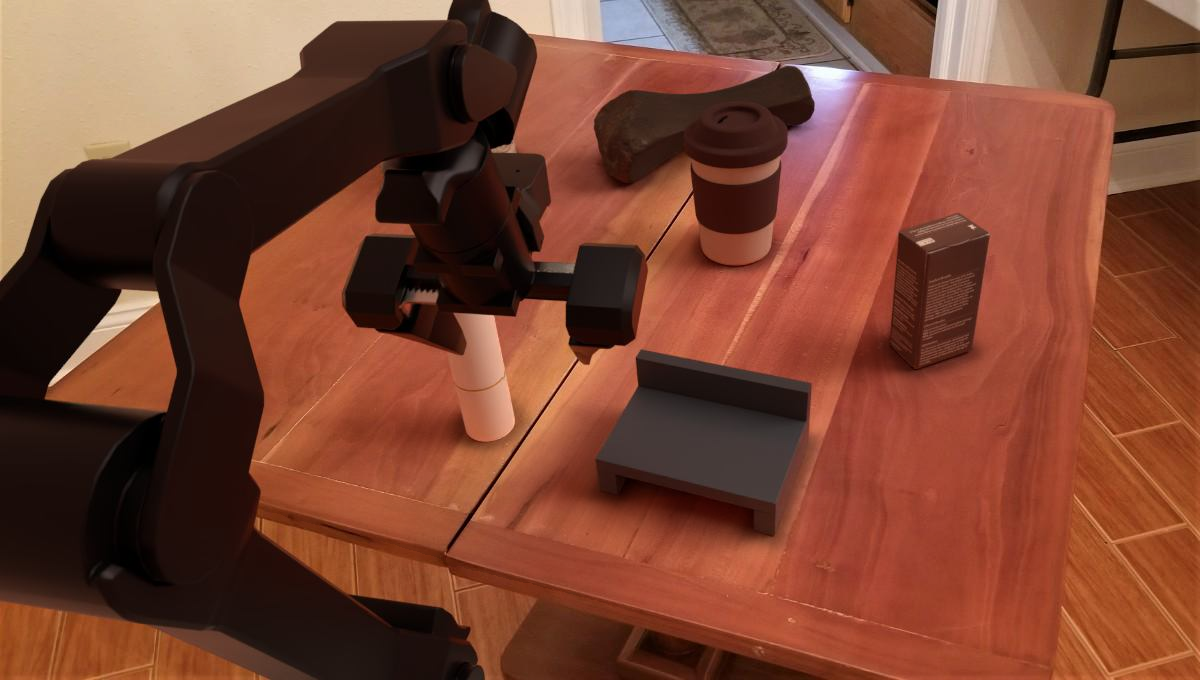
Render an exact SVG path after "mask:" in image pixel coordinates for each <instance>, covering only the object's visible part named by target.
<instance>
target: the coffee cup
mask: <svg viewBox="0 0 1200 680" xmlns="http://www.w3.org/2000/svg"><path fill="white" fill-rule="evenodd" d="M788 129H789V128H788V126H787V125H785V123H784V122H783V121H782V120H780V119H779V118H778V117H776V116H773V115H771V113H770V111H769V110H768V109H767V108H765V107H764V106H762V105H759V104H756V103H751V102H743V101H736V102H725V103H720V104H717V105H714V106H711V107H710V108H708V109H706V110H705V111H704V112H703V113H702V114H701V115H700V118H697V119H696V120H694V121H693V122H691V123H690V124H689V125H688V126H687V128H686V129H685V132H684V148H685V149H684V151H685V153H686V155H687V156H688V157H689V158H690V159H691V162H690V177H691V179H690V180H691V186H692V197H693V204H694V213H695V218H696V220H697V222H698V230H699V231H698V232H699V239H700V247H701V250H702V252H703V254H704V255H705V257H707V258H708V259H709V260H711V261H713V262H715V263H717V264H721V265H726V266H745V265H750V264H753V263H755V262H758V261H760V260H761V259H763V258H764V257H766V256H767V254H768V253H769V252H770V250H771V248H772V243H773V241H772V240H773V233H774V231H773V230H774V223H775V222H774V221H775V218H776V216H777V213H778V202H779V195H780V183H781V174H782V161H781V155H783V153H784V152H785V151H786V150H787V147H788V141H789V140H788V139H789V138H788V137H789V130H788Z"/></svg>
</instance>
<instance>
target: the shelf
mask: <svg viewBox="0 0 1200 680" xmlns="http://www.w3.org/2000/svg"><path fill="white" fill-rule="evenodd" d="M635 368H636V378H637V387H636V389H635V390H634V392H633V394H632V396H631V397H630V399H629V401H628V402H627V404H626V406H625V408H624V409H623V411H622V412H621V415H620V416H619V418H618V419H617V421H616V423H615V425H614V426H613V428H612V430H611V431H610V433H609V434H608V436H607V438H606V440H605V442H604V443H603V445H602V446H601V448H600V450H599V452H598V454H597V455H596V457H595V458H594V461H595V467H596V475H597V481H598V488H599V490H600V492H601V491H602V492H606V493H609V494H614V495H619V494H620V492H621V489H622V488H623V486H624V484H625V482H626V480H627V479H628V478H629V479H632V480H636V481H639V482H644V483H648V484H652V485H656V486H659V487H664V488H668V489H672V490H675V491H680V492H684V493H688V494H691V495H696V496H699V497H704V498H707V499H711V500H714V501H720V502H723V503H727V504H731V505H735V506H739V507H742V508H747V509H751V510H753V531H754V532H757V533H761V534H765V535H769V536H772V537H775V536H776V535H777V531H778V529H779V526H780V523H781V521H782V518H783V516H784V512H785V509H786V506H787V503H788V501H789V498H790V495H791V494H792V493H791V492H792V490H793V487H794V484H795V481H796V479H797V476H798V474H799V470H800V468H801V465H802V463H803V459H804V457H805V454H806V451H807V449H808V446H809V440H810V439H809V436H810V419H811V403H812V387H813V384H812V382H810V381H809V382H808V381H804V380H799V379H794V378H788V377H784V376H778V375H774V374H768V373H764V372H758V371H754V370H748V369H743V368H738V367H733V366H727V365H723V364H718V363H713V362H707V361H702V360H697V359H693V358H688V357H682V356H677V355H673V354H666V353H661V352H656V351H652V350H646V349H642V348H641V349H640V350H639V351H638V353H637V355H636V356H635Z"/></svg>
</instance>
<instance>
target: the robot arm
mask: <svg viewBox="0 0 1200 680" xmlns="http://www.w3.org/2000/svg"><path fill="white" fill-rule="evenodd" d="M299 51H300V52H299V55H298V56H299V62H300V64H299V65H300V69H299V70H298V71H297V72H295V73H294V74H293V75H292V76H291V77H289V78H287V79H284V80H281V81H280V82H278V83H275V84H273V85H272V86H269V87H266V88H264V89H262V90H259V91H258V92H255V93H253V94H251V95H249V96H247V97H244V98H242V99H240V100H237V101H236V102H233V103H231V104H228V105H227V106H225V107H222V108H220V109H218V110H215V111H213V112H210V113H209V114H207V115H204V116H202V117H200V118H197V119H195V120H193V121H190V122H188V123H186V124H184V125H181V126H180V127H178V128H174V129H173V130H171V131H169V132H165V133H164V134H161V135H159V136H157V137H155V138H153V139H151V140H148V141H146V142H144V143H142V144H139V145H138V146H135V147H133V148H130V149H128V150H126V151H124V152H121V153H118V154H117V155H115V156H113V157H108V158H107V157H106V158H91V159H88V160H84V161H81V162H79V163H78V164H77V165H76V166H74V167H72V168H65V169H64V170H62V171H61V172H60V173H59V174H57V175H56V176H54V177H53V178H52V179H51V180H50V181H49V183H48V184H47V187H46V189H44V192H43V194H42V195H41V198H40V200H39V203H38V206H37V210H36V212H35V216H34V218H33V222H32V225H31V229H30V231H29V234H28V237H27V241H26V244H25V247H24V251H23V253H22V254H21V256H20V257H19V258H18V259H17V260H16V262H15V263H13V265H12V267H11V268H10V269H9V270H8V271H7V272H6V273H5V274H4V275H3V277H2V278H1V279H0V602H3V603H7V604H8V603H9V604H14V605H15V604H16V605H22V606H29V607H34V608H40V609H45V610H46V609H47V610H52V611H58V612H63V613H70V614H77V615H83V616H89V617H95V618H102V619H107V620H108V619H109V620H114V621H120V622H126V623H133V624H139V625H146V626H148V627H149V628H153V629H155V630H157V631H160V632H161V633H164V634H165V635H169V636H170V637H173V638H175V639H178V640H180V641H181V642H185V643H186V644H188V645H191V646H193V647H196V648H197V649H199V650H202V651H204V652H207V653H209V654H211V655H213V656H216V657H218V658H220V659H222V660H224V661H227V662H229V663H231V664H233V665H235V666H238V667H241V668H243V669H245V670H247V671H249V672H252V673H254V674H257V675H259V676H261V677H263V678H264V679H265V678H266V679H268V680H486V675H485V672H484V668H483V667H482V665H480V664H478V663H479V658H478V653H477V651H476V649H475V648H474V646H473V645H472V643H471V642H470V641H469V640H468V638H469V636H470V633H471V630H472V629H471V626H469V625H461V624H458V622H457V620H456V619H455V617H454V615H453V614H452V613H451V612H449V611H448V610H446V609H445V608H443V607H442V606H434V605H429V604H420V603H413V602H407V601H399V600H392V599H386V598H379V597H372V596H364V595H357V594H352V593H347V592H346V591H344V590H343V589H341V588H340V587H339V586H337V585H336V584H334V583H333V582H331V581H330V580H329V579H327V578H326V577H324V576H323V575H321V574H320V573H319V572H317V571H316V570H314V569H313V568H312V567H311V566H309V565H308V564H307V563H305V562H303V561H302V560H300V558H298V557H296V556H295V555H294V554H292V553H291V552H290V551H288V550H286V549H285V548H284V547H282V546H281V545H280V544H279V543H277V542H276V541H274V540H273V539H271V538H270V537H269V536H267V535H266V534H264V533H263V532H262V531H260V530H259V528H257V527H256V525H255V524H256V519H257V514H258V509H259V504H260V500H261V494H262V490H261V488H260V486H259V484H258V482H257V481H256V479H255V478H254V476H253V475H252V474H251V473H250V469H251V465H252V460H253V456H254V451H255V448H256V444H257V443H256V442H257V438H258V434H259V430H260V426H261V421H262V418H263V413H264V408H265V391H264V388H263V384H262V379H261V377H260V372H259V369H258V367H257V363H256V359H255V356H254V352H253V348H252V344H251V342H250V338H249V334H248V331H247V327H246V324H245V320H244V316H243V314H242V308H241V305H240V300H241V297H242V292H243V288H244V284H245V281H246V277H247V272H248V268H249V264H250V261H251V256H252V255H253V254H254V253H256V252H257V251H258V250H260V249H261V248H263V247H264V246H265V245H267V244H268V243H270V242H271V241H272V240H275V238H277V237H278V236H280V235H281V234H283V233H284V232H285V231H287V230H288V229H290V228H291V227H293V226H294V225H296V224H297V223H298V222H300V221H301V220H302V219H304V218H306V217H307V216H308V215H310V214H311V213H312V212H314V211H315V210H317V209H318V208H319V207H321V206H323V204H325V203H326V202H328V201H329V200H330V199H332V198H334V197H335V196H336V195H338V194H339V193H340V192H342V191H343V190H345V189H346V188H347V187H349V186H351V184H353V183H355V182H356V181H357V180H359V179H360V178H361V177H363V176H364V175H366V174H368V172H370V171H372V170H373V169H374V168H376V167H378V165H380V164H381V174H382V177H383V180H382V182H381V185H380V188H379V191H378V193H377V195H376V198H375V203H374V218H375V221H376V222H378V223H379V224H393V225H394V224H396V225H409V227H410V229H411V231H412V233H413V234H397V233H395V234H394V233H372V234H368V235H365V237H364V238H363V239H362V240H361V242H360V243H359V246H358V248H357V251H356V254H355V257H354V259H353V261H352V264H351V267H350V270H349V273H348V275H347V277H346V280H345V282H344V285H343V288H342V291H341V306H342V308H343V309H344V311H345V313H346V314H347V315H348V317H349V318H350V320H351V321H352V322H353V324H354V325H355V326H356V328H361V329H373V330H374V331H376V332H377V333H379V334H385V335H386V334H387V335H391V336H395V337H398V338H401V339H404V340H409V341H412V342H415V343H418V344H422V345H425V346H429V347H431V348H435V349H439V350H441V351H444V352H446V351H447V352H450V353H453V354H456V355H464V352H465V349H466V345H467V342H466V339H465V336H464V333H463V331H462V328H461V326H460V324H459V323H458V321H457V319H456V317H455V315H454V313H464V314H479V315H494V317H511V318H512V317H513V318H514V317H515V318H516V317H517V314H518V311H519V307H520V303H521V302H523V301H524V300H533V301H534V300H536V301H551V302H552V301H554V302H565V329H566V332H567V335H568V336H569V338H568V343H567V344H568V346H569V348H570V349H571V351H572V353H573V354H574V355H575V357H576V359H577V361H578V362H580V363H581V364H582V365H585V366H589V365H590V364H591V360H592V357H593V355H594V354H596V353H597V352H599V350H611V349H612V348H614V347H615V346H618V347H626V346H628V345H629V344H630V343H633V341H635V340H636V339H637V335H638V334H637V333H638V328H639V323H640V317H641V313H642V306H643V300H644V296H645V290H646V286H647V279H648V274H649V266H648V262H647V257H646V254H645V253H644V252H643V251H642V249H641V248H640V247H639V246H638V244H621V243H603V242H601V243H599V242H583V243H581V244H579V246H578V250H577V254H576V258H575V262H557V261H538V260H534V259H533V253H541V251H542V248H543V244H544V240H545V233H544V232H543V227H542V226H541V222H540V221H541V219H542V218H543V215H544V214H545V212H546V209H547V208H548V207H550V205H551V203H552V197H551V190H550V183H549V177H548V169H547V161H546V157H545V156H544V155H542V154H540V153H531V152H523V153H522V152H516V153H492V151H491V149H495V148H498V147H500V146H503V145H510V144H511V142H512V140H513V138H514V139H515V134H516V130H517V127H518V124H519V121H520V119H521V118H520V117H521V114H522V112H523V111H522V110H523V107H524V104H525V101H526V98H527V94H528V91H529V88H530V85H531V81H532V78H533V74H534V72H535V68H536V64H537V60H538V48H537V45H536V42H535V40H534V38H532V37H531V36H529V34H528V33H527V31H526V30H525V29H524V28H523V27H522V26H521V25H519V24H518V23H517V22H515V21H514V20H512V19H511V18H509V17H508V16H506V15H503V14H500V13H498V12H496V11H493V10H492V7H491V4H490V1H489V0H452V1H451V3H450V6H449V9H448V13H447V18H446V19H417V20H415V19H414V20H413V19H410V20H409V19H408V20H407V19H406V20H403V19H402V20H337V21H335V22H333V23H331V24H330V25H328V27H326V28H325V29H324V30H322V31H321V32H320V33H319V34H317V35H316V36H315V37H314V38H313V39H311V40H310V41H309V42H308V43H307V44H305V45H304V46H303V47H302V49H301V50H299ZM123 290H125V291H137V292H138V291H139V292H154V293H157V296H158V299H159V304H160V307H161V312H162V316H163V320H164V323H165V328H166V332H167V336H168V340H169V345H170V348H171V352H172V356H173V360H174V364H175V368H176V374H175V375H176V376H175V379H174V383H173V387H172V390H171V394H170V399H169V402H168V406H167V409H166V410H159V409H151V408H149V409H148V408H141V407H140V408H139V407H128V406H118V405H109V404H97V403H87V402H77V401H68V400H57V399H50V398H49V399H48V398H47V399H46V396H47V393H48V389H49V386H50V384H51V382H52V380H53V379H54V378H55V377H56V376H57V374H59V372H60V371H61V370H62V368H63V367H64V366H65V365H66V364H67V363H68V361H69V360H70V359H71V358H72V357H73V355H74V354H75V353H76V352H77V351H78V349H79V348H80V347H81V346H82V345H83V344H84V342H85V341H86V340H87V339H88V338H89V336H90V335H91V334H92V333H93V332H94V330H95V329H96V328H97V326H99V324H100V323H101V322H102V320H103V319H104V318H105V317H106V316H107V315H108V314H109V312H110V311H111V310H112V309H113V307H114V306H115V305H116V303H117V302H118V300H119V298H120V296H121V294H122V291H123Z"/></svg>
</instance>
